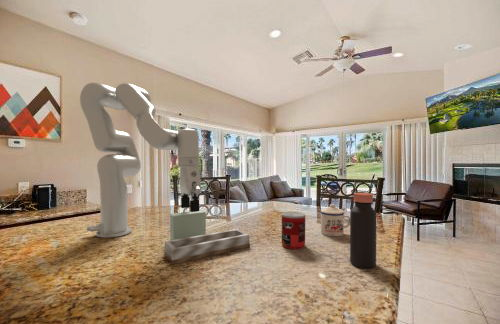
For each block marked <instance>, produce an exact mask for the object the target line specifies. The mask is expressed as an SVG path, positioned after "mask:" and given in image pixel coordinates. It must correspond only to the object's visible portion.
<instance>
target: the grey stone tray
mask: <svg viewBox="0 0 500 324" xmlns="http://www.w3.org/2000/svg"><path fill="white" fill-rule="evenodd" d="M250 247H251V244H250V234H249V233H247V232H245V231H242V230H240V229H238V228H234V229H230V230H224V231H222V230H221V231H217V232H211V233H207V234H205V235H200V236H194V237H188V238H183V239H177V240H171V241H170V240H166V241H164V255H165V257H167V259H168V260H169V261H170V262H171V264H172V265H176V264H180V263H185V262H189V261H193V260H198V259H202V258H206V257H211V256H214V255H220V254H224V253H228V252H232V251H236V250H241V249H246V248H250Z"/></svg>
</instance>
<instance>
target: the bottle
mask: <svg viewBox="0 0 500 324" xmlns="http://www.w3.org/2000/svg"><path fill="white" fill-rule="evenodd" d="M373 199H374V194H373V193H369V192H354V193H353V202H354V206H353V207H352V208H351V209H350V215H349V217H350V226H349V228H350V229H349V232H350V233H349V234H350V235H349V237H350V238H349V262H350V263H351V265H353V266H355V267H357V268H361V269H365V270H366V269H367V270H368V269H369V270H370V269H374V268H376V267H377V211H376V210H375V209H374V208H373V206H372V205H373V202H374V201H373Z"/></svg>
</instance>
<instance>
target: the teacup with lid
mask: <svg viewBox="0 0 500 324" xmlns="http://www.w3.org/2000/svg"><path fill="white" fill-rule="evenodd" d="M344 218H348V223H347V224H346V225H345V223H344V222H345V220H344ZM346 228H350V215H347V214H345V211H344V210H343V209H340V208H338V207H337V206H336V205H335V204H334V203H330V204H329V206H327V207H325V208H322V209H321V210H320V233H321V234H322V235H323V236H328V237H342V236H344V235H345V234H344V232H345V231H344V229H346Z"/></svg>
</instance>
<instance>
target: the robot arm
mask: <svg viewBox="0 0 500 324" xmlns="http://www.w3.org/2000/svg"><path fill="white" fill-rule="evenodd" d="M151 101H152V100H151V95H150V93H148V91H147V90H145V89H144V88H141V87H139V86H137V85H134V84H132V83H125V82H124V83H123V82H122V83H120V84H118V85H117V86H116V87H115V88H114V87H112V86H109V85H107V84H104V83H99V82H89V83H86V84H85V85H84V86H83V88H82V90H81V91H80V95H79V102H80V107H81V110H82V112H83V114H84V117H85V118H86V122H87V124H88V128H89V131H90V133H91V134H90V135H91V138H92V141H93V145H94V146H95V149H96V150H97V151H98V152H100V153H107V154H105V155H104V156H102V157H100V158H99V159H98V162H97V165H96V167H97V169H96V170H97V174H98V178H99V191H100V222H99V223H98V224H96V225H88V226H86V232H91V233H92V232H95V235H96V237H98V238H103V239H104V238H105V239H106V238H118V237H123V236H126V235H128V234H131V233H132V231H133V228H132V227H131V226H129V225H128V222H129V221H128V220H129V219H128V218H129V217H128V216H129V214H128V208H129V207H128V186H127V182H126V180H125V178H129V177H130V178H131V177H134V176H137V175H138V174H139V172H140V171H141V159H140V156H139V152H138V150H137V148H136V144H135V141H134V138H133V137H132V135H130V134H129V133H128V132H125V131H122V130H117V129H116V128H115V126H114V123H113V120H112V117H111V115H110V114H109V113H108V111H107V110H106V108H110V109H113V110H116V111H117V110H118V111H127V112H128V113H129V115H131V117H132V118H133V119H134V120H135V121H136V123H135V124H136V128H137V131H138V132H139V134H140V135H141V136H142V138H143V139H144V140H145V141H146V142H147V143H148V144H149V145H150V146H151V147H152V148H154V149H156V150H160V151H161V150H164V151H165V150H166V151H177V165H178V166H177V167H178V168H180V169H179V190H180V205H181V206H180V207H181V208H182V209H186V208H188V209H189V212H197V211H199V210H200V194H201V193H202V185H201V182H202V181H201V173H200V168H199V167H200V149H199V146H200V145H199V132H198V130H196V129H193V128H182V129H179V130H178V131H176V130H172V129H166V128H163V127H162V126H161V125H160V124H159V123H158V121H156V120H155V115H156V112H157V110H156V108H155V105H154V104H152V103H151Z"/></svg>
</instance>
